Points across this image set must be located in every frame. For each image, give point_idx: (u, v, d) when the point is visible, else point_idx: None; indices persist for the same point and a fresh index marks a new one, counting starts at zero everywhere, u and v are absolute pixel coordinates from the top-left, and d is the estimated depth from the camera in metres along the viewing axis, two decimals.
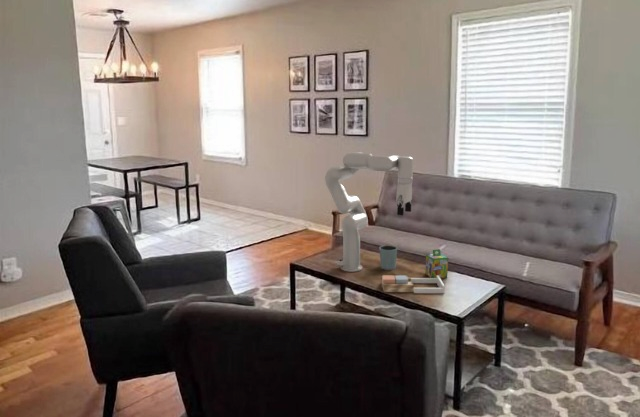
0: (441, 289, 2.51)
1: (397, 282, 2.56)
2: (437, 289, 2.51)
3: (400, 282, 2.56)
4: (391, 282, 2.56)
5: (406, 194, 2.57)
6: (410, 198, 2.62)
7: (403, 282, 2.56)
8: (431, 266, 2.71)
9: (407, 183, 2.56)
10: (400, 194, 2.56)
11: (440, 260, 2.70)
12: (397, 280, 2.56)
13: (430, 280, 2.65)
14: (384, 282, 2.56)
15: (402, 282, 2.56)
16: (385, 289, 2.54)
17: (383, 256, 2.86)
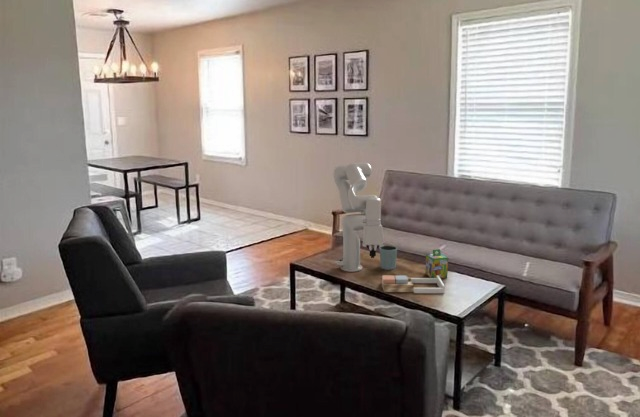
0: (441, 289, 2.51)
1: (397, 282, 2.56)
2: (437, 289, 2.51)
3: (400, 282, 2.56)
4: (391, 282, 2.56)
5: None
6: None
7: (403, 282, 2.56)
8: (431, 266, 2.71)
9: None
10: None
11: (440, 260, 2.70)
12: (397, 280, 2.56)
13: (430, 280, 2.65)
14: (384, 282, 2.56)
15: (402, 282, 2.56)
16: (385, 289, 2.54)
17: (383, 256, 2.86)
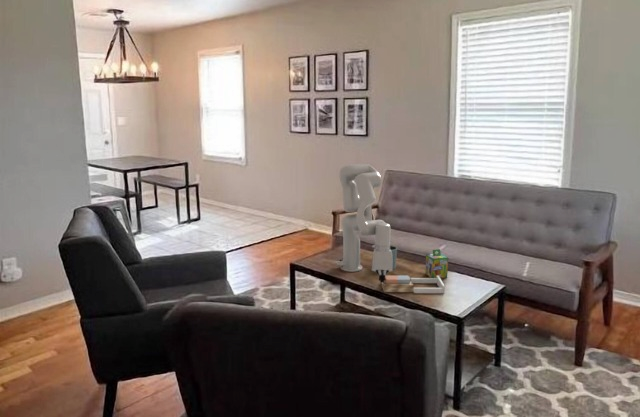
0: (441, 289, 2.51)
1: (399, 282, 2.56)
2: (437, 289, 2.51)
3: (402, 282, 2.56)
4: (394, 282, 2.56)
5: None
6: None
7: (405, 282, 2.56)
8: (431, 266, 2.71)
9: None
10: None
11: (440, 260, 2.70)
12: (399, 280, 2.56)
13: (430, 280, 2.65)
14: (387, 282, 2.56)
15: (404, 282, 2.56)
16: (385, 289, 2.54)
17: None
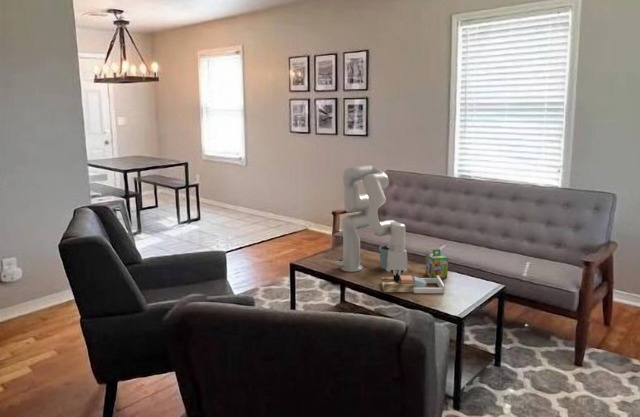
0: (441, 289, 2.51)
1: (415, 283, 2.55)
2: (437, 289, 2.51)
3: (418, 284, 2.56)
4: (409, 282, 2.56)
5: None
6: None
7: (421, 284, 2.56)
8: (431, 266, 2.71)
9: None
10: None
11: (440, 260, 2.70)
12: (416, 281, 2.55)
13: (430, 280, 2.65)
14: (402, 282, 2.56)
15: (420, 284, 2.56)
16: (385, 289, 2.54)
17: (383, 256, 2.86)
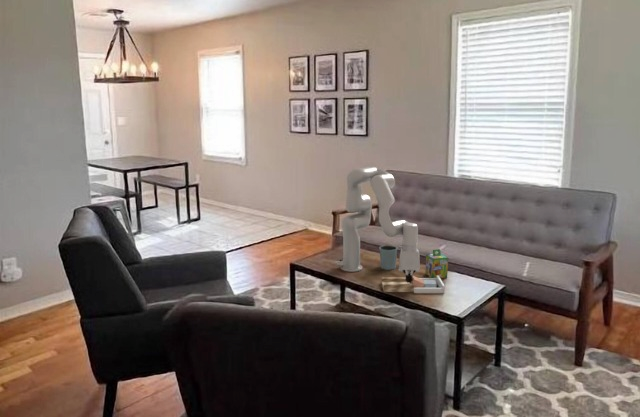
0: (441, 289, 2.51)
1: (425, 286, 2.56)
2: (437, 289, 2.51)
3: (428, 286, 2.56)
4: (420, 285, 2.55)
5: None
6: None
7: (431, 286, 2.56)
8: (431, 266, 2.71)
9: None
10: None
11: (440, 260, 2.70)
12: (425, 284, 2.56)
13: None
14: (413, 282, 2.55)
15: (430, 286, 2.56)
16: (385, 289, 2.54)
17: (383, 256, 2.86)
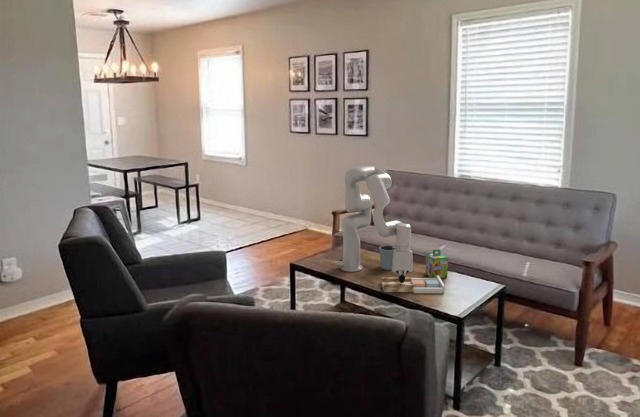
0: (441, 289, 2.51)
1: (428, 286, 2.56)
2: (437, 289, 2.51)
3: (431, 286, 2.56)
4: (421, 286, 2.56)
5: None
6: None
7: (434, 286, 2.56)
8: (431, 266, 2.71)
9: None
10: None
11: (440, 260, 2.70)
12: (428, 284, 2.56)
13: None
14: (414, 286, 2.56)
15: (433, 286, 2.56)
16: (385, 289, 2.54)
17: (383, 256, 2.86)
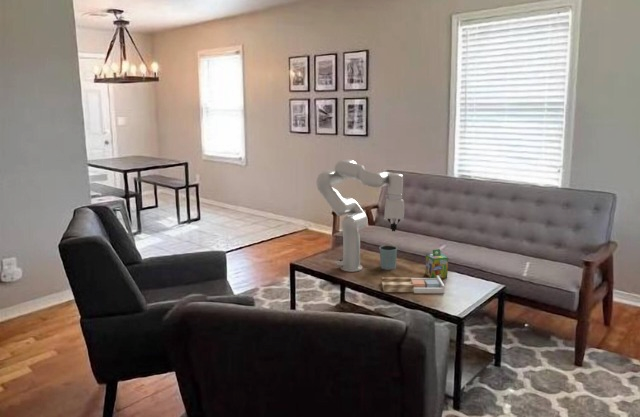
0: (441, 289, 2.51)
1: (428, 287, 2.56)
2: (437, 289, 2.51)
3: (431, 286, 2.56)
4: (421, 286, 2.56)
5: None
6: None
7: (434, 286, 2.56)
8: (431, 266, 2.71)
9: None
10: None
11: (440, 260, 2.70)
12: (428, 285, 2.55)
13: None
14: (414, 286, 2.56)
15: (433, 286, 2.56)
16: (385, 289, 2.54)
17: (383, 256, 2.86)
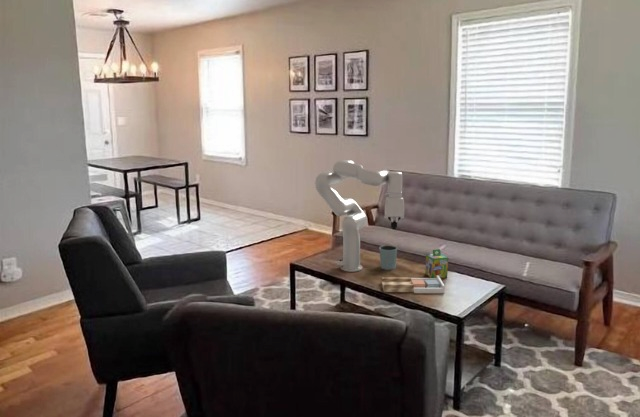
0: (441, 289, 2.51)
1: (428, 287, 2.56)
2: (437, 289, 2.51)
3: (431, 286, 2.56)
4: (421, 286, 2.56)
5: None
6: None
7: (434, 286, 2.56)
8: (431, 266, 2.71)
9: None
10: None
11: (440, 260, 2.70)
12: (428, 285, 2.55)
13: None
14: (414, 286, 2.56)
15: (433, 286, 2.56)
16: (385, 289, 2.54)
17: (383, 256, 2.86)
